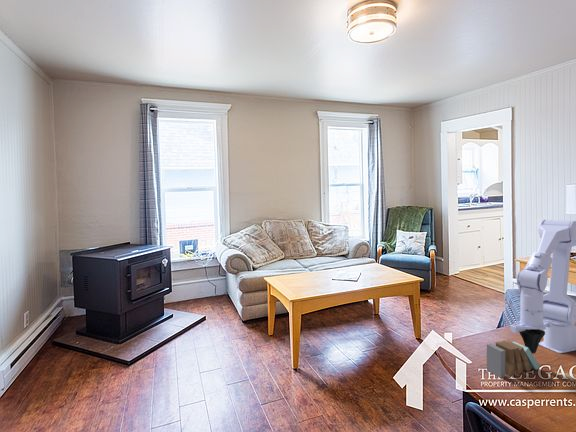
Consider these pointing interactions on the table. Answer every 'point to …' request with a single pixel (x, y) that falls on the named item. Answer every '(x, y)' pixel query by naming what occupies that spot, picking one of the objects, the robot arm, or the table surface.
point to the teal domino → (529, 357)
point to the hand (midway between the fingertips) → (531, 352)
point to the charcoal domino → (496, 360)
